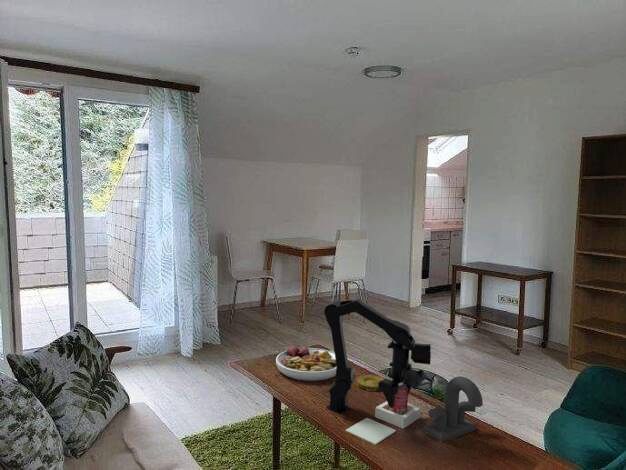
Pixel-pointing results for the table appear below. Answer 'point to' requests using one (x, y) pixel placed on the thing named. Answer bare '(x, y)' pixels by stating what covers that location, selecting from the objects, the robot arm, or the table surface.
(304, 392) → the table surface
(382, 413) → the collar
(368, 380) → the gold flat disc
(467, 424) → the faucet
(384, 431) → the mat
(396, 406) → the beverage can
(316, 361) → the bowl
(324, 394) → the table surface
